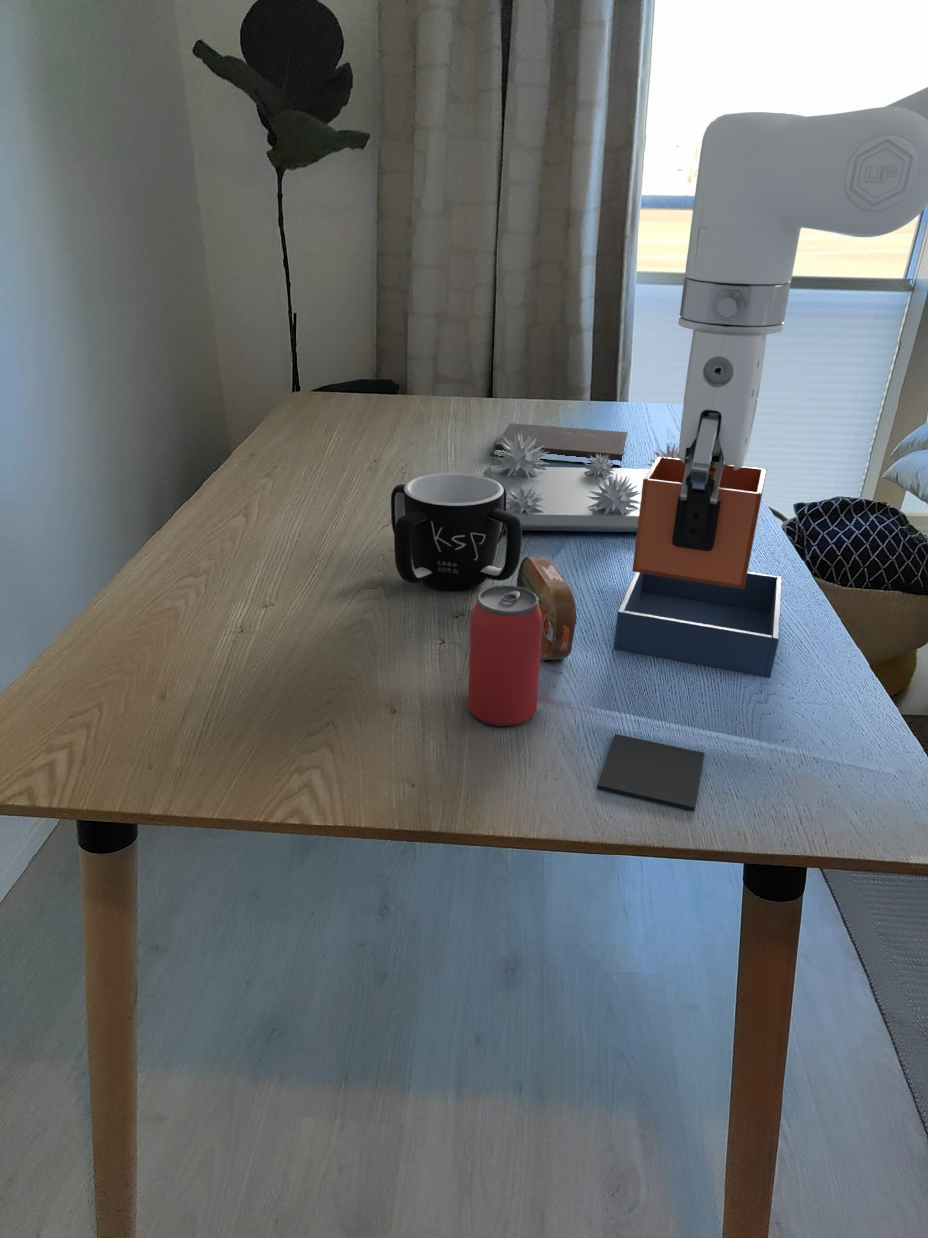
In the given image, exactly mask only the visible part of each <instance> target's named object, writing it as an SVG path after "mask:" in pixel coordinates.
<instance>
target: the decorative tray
mask: <svg viewBox="0 0 928 1238" xmlns="http://www.w3.org/2000/svg"><path fill="white" fill-rule="evenodd" d="M533 434H534V433H533ZM529 436H530V435H529ZM503 437H504V436H503ZM532 437H533V435H532V436H531V437H530V439H529V437H528V438H527V440H526V442H525V443H523V436H522V431H521V436H520V437H519V433H518V438H516V434H515V431H514V444H513V442H512V441H511V440H510V442H509V441H508V440H507V439H506V438H505V437H504V439H505V441H506V442H507V444H508V446H509V447H508V446H506V445H505V444H504V443H502V442H501V441H499V442H500V443H501V444H502V446H503V447H504V449H505V450H506V452H507V453H504V452H497V451H495V450H494V451H493V453H494V454H495V453H496V454H499V455H501V456H503V457H501V456H491V458H492V459H495V460H497V461H499V462H502V463H500V464H498V465H490V466H489V467H487V468H486V469H485V470H484V471H483V472H482V474H483V475H482V476H483V477H486V478H489V479H492V480H494V481H496V482H498V483H499V484H501V485H503V486H504V487H505V490H506V512H509V513H511V514H514V515H516V516H517V517H518V518H519V520H520V522H521V526H522V531H547V532H549V531H551V532H553V531H554V532H604V533H605V532H608V533H609V532H611V533H612V532H614V533H615V532H616V533H621V532H622V533H637V529H638V520H639V512H640V503H641V495H642V487H643V479H644V478H645V476H646V475H647V473H648V471H649V470H650V468H651V466H652V465H653V463H654V462H655V460H656V459H649V458H648V459H647V460H648V461H651V462H652V463H646V465H647V466H649V468H624V467H623V468H622V467H621V468H620V467H619V468H617V467H616V468H615V467H614V466H613V465H615V464H613V463H610V462H612V461H613V460H612V461H609V462H608V460H609V459H610V458H609V459H607V458H608V456H609V455H608V456H607V455H606V456H607V457H606V456H605V457H604V455H603V457H602V459H601V453H600V457H599V455H598V456H597V453H596V460H595V459H594V458H593V456H592V457H591V456H590V457H591V458H592V460H593V461H592V460H590V459H589V458H588V459H589V461H590V462H591V464H585V463H583V464H584V465H586V466H584V467H565V466H562V467H561V466H542V465H549V463H548V462H545V461H543V460H538V459H537V458H539V457H541V456H543V455H544V454H546V453H548V452H545V453H541V452H543V451H544V450H541V451H539V450H540V449H541V448H542V447H544V446H545V445H544V446H541V447H538V448H536V449H533V448H534V447H535V445H536V443H537V441H536V442H535V440H536V438H537V437H536V438H535V439H534V440H533V441H532V443H531V444H530V442H531V439H532ZM672 446H673V447H672V449H671V446H670V445H669V443H668V442H666V452H665V451H664V450H662V449H661V448H660V447H659V446H656V447H657V449H658V450H659V452H660V453H659V452H658V451H654V454H655V455H656V457H658V456H661V457H669V458H678V459H679V446H676V442H674V444H673V445H672ZM605 458H606V459H605ZM611 464H612V465H611ZM504 531H506V526H505V527H504Z"/></svg>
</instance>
